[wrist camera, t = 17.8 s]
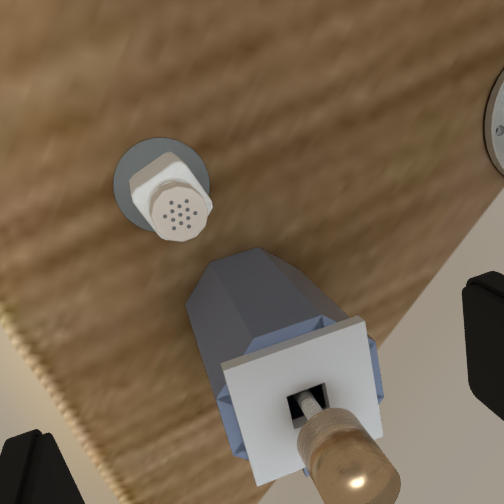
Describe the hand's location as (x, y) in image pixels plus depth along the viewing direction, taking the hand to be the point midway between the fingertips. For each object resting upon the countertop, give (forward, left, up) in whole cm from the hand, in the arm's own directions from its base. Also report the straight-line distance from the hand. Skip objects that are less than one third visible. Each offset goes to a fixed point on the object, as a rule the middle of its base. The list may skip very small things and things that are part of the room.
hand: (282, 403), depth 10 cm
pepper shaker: (0, 0, -28) cm, 28 cm away
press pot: (-4, +13, -28) cm, 31 cm away
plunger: (-4, +12, -25) cm, 28 cm away
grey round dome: (0, 0, -28) cm, 28 cm away
